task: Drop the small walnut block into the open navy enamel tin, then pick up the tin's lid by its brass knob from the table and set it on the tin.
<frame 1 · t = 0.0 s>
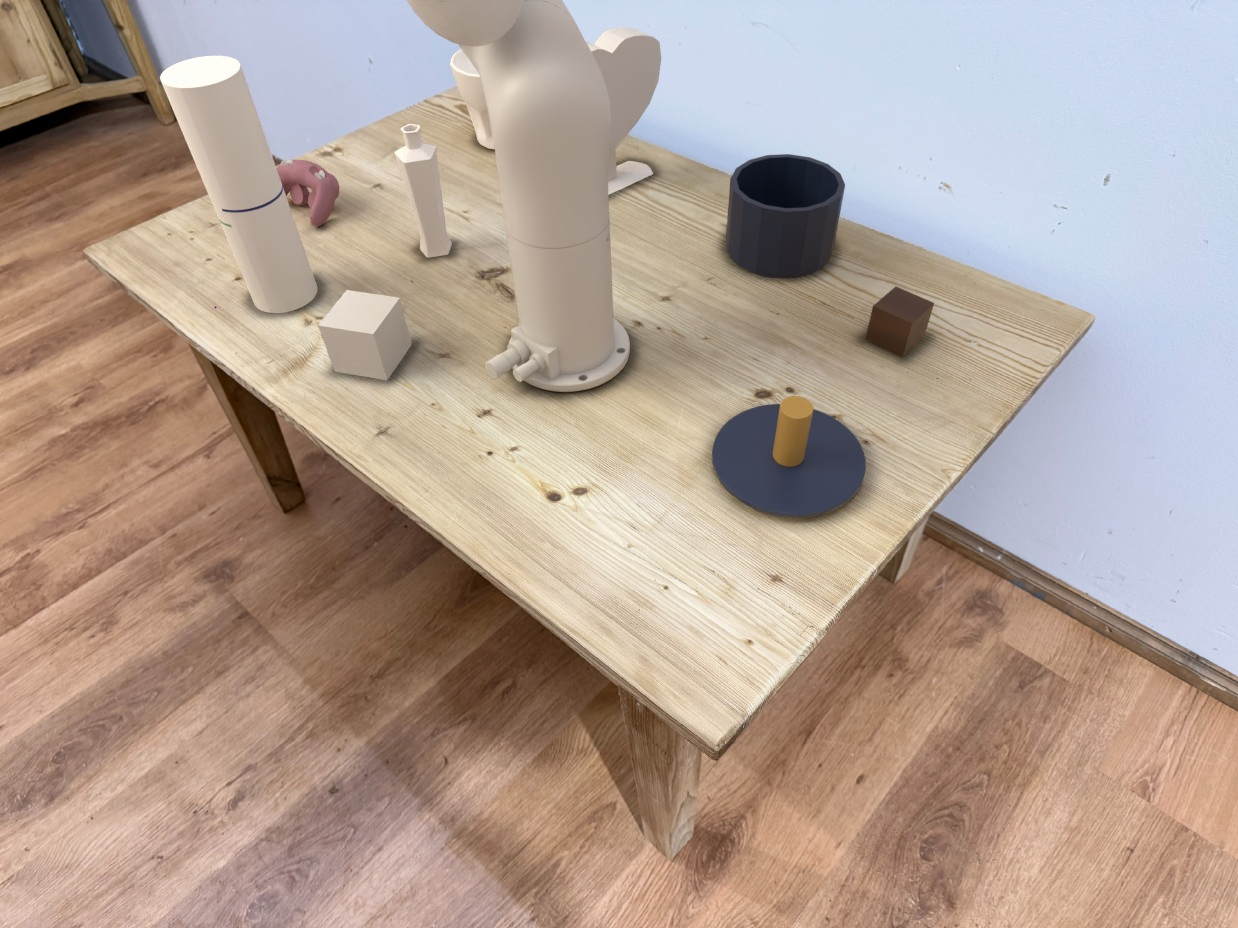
tin: (778, 247, 100), on the table
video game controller: (308, 211, 110), on the table
heart sculpture: (608, 183, 112), on the table
cup: (507, 138, 122), on the table
block: (894, 338, 88), on the table
cylindrical container: (286, 295, 97), on the table
white cube: (374, 359, 89), on the table
lid: (787, 459, 76), point 1 cm above the table
perfume bottle: (435, 251, 102), on the table
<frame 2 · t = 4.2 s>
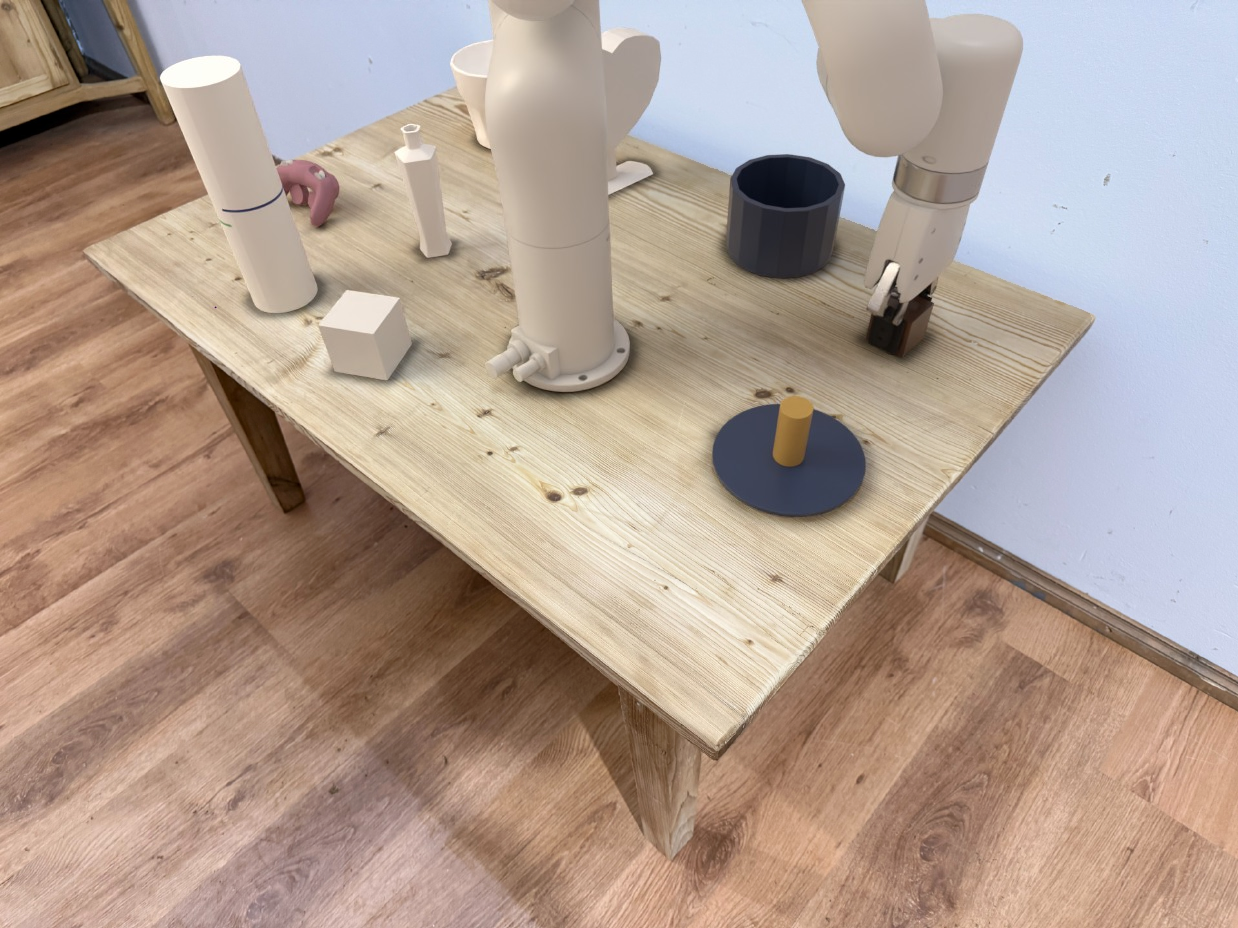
hand: (895, 334, 88), 1 cm above the table, tool pointing down, fingers closed on block, 4 cm apart
block: (894, 338, 88), on the table, touching gripper
everything else where it was.
when the fingers open (7 cm above the table, at t = 10.4 s): block drops 6 cm, resting on tin.
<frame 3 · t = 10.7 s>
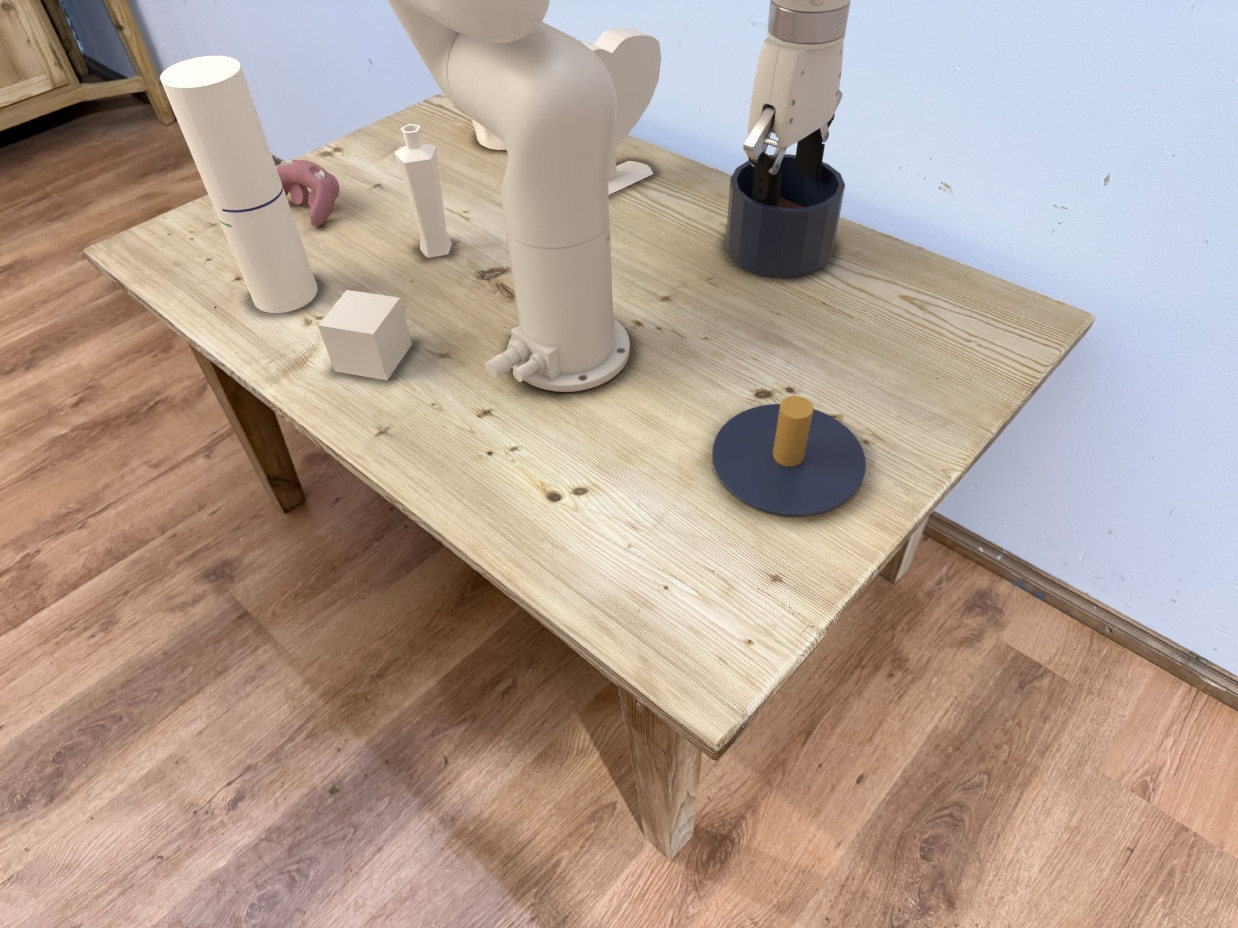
hand: (786, 187, 95), 8 cm above the table, tool pointing down, fingers open, 7 cm apart
block: (779, 244, 100), point 1 cm above the table, touching tin
everything else where it was.
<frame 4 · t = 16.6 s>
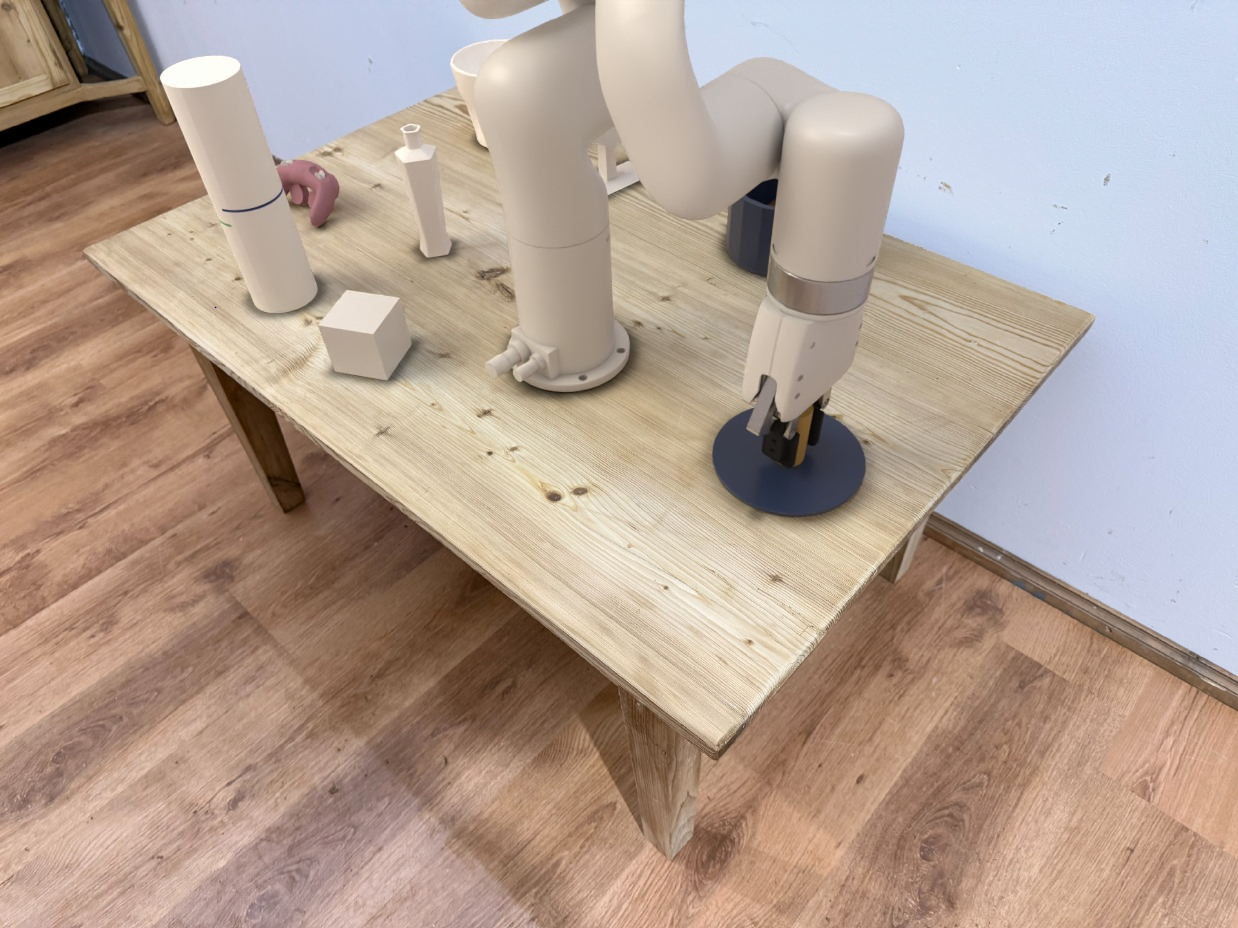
hand: (789, 447, 75), 2 cm above the table, tool pointing down, fingers closed on lid, 2 cm apart
lid: (787, 459, 76), point 1 cm above the table, touching gripper
everything else where it was.
when the fingers open (10 cm above the table, at t = 24.7 s): lid stays where it is, resting on tin.
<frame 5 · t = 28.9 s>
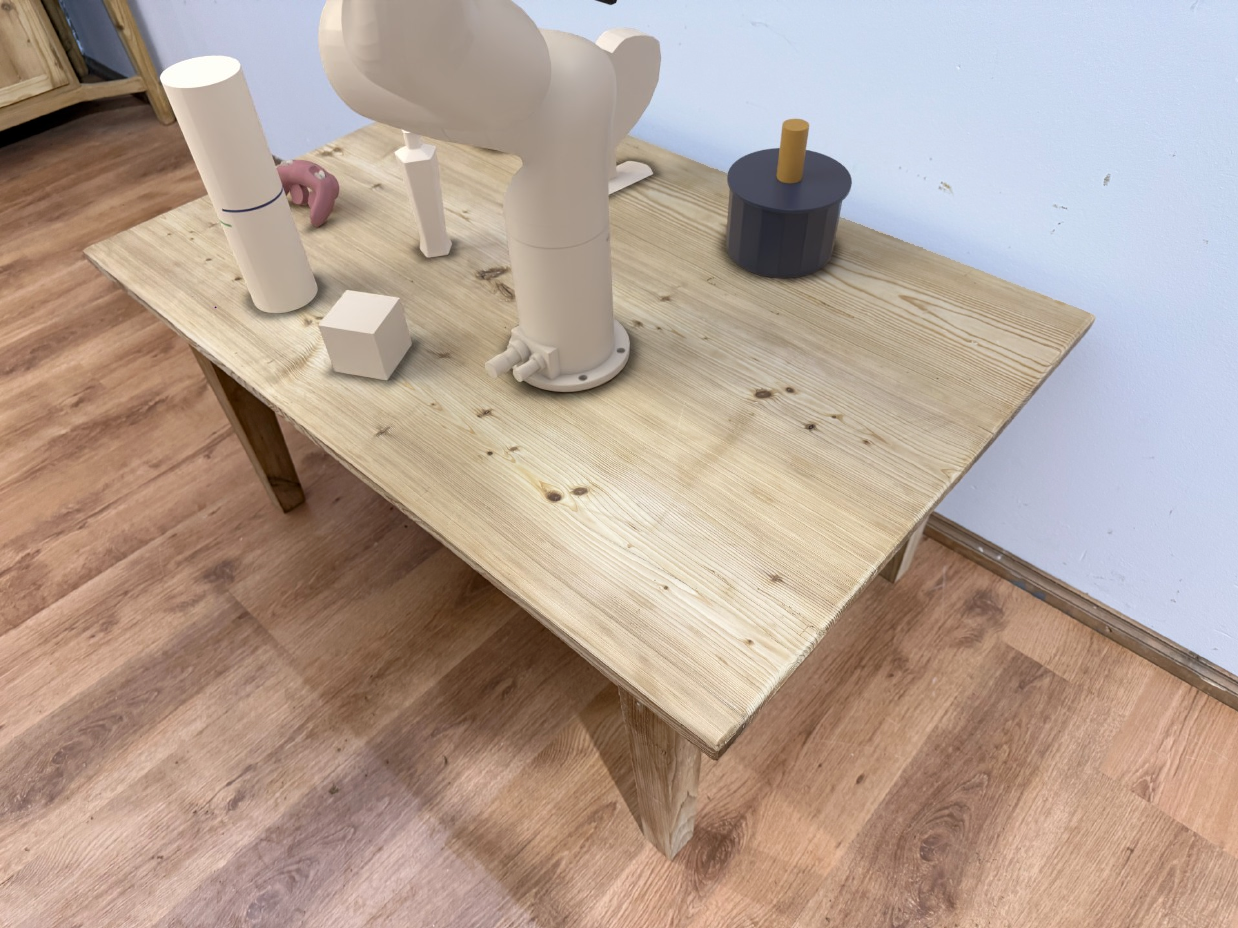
lid: (788, 181, 94), point 8 cm above the table, touching tin
everything else where it was.
at the end: block inside the target area in the tin (0.0 cm from its centre), point 0.5 cm above the tin's base; lid 0.1 cm off-centre on the tin, point 8.5 cm above the tin's base; lid tilted 0° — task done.
